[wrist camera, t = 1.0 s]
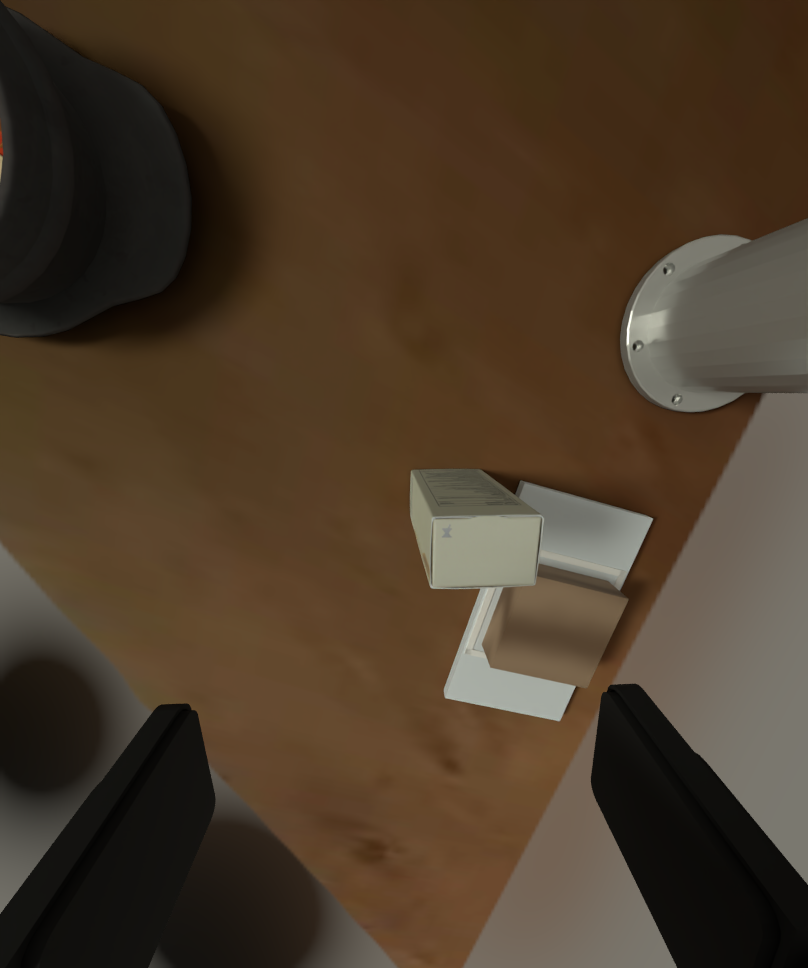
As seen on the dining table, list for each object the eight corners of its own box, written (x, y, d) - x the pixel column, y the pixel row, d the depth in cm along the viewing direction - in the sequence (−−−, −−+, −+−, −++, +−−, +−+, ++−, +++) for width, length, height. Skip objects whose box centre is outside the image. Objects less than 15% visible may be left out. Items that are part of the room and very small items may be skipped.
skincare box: (409, 517, 32) (423, 591, 20) (410, 468, 31) (425, 516, 19) (483, 517, 32) (538, 589, 21) (486, 468, 31) (547, 515, 20)
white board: (520, 480, 32) (525, 483, 31) (645, 514, 33) (654, 518, 32) (443, 689, 37) (445, 698, 36) (555, 712, 38) (560, 722, 37)
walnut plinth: (514, 557, 32) (527, 573, 30) (607, 580, 33) (628, 599, 31) (481, 644, 34) (490, 667, 32) (570, 664, 35) (586, 688, 33)
